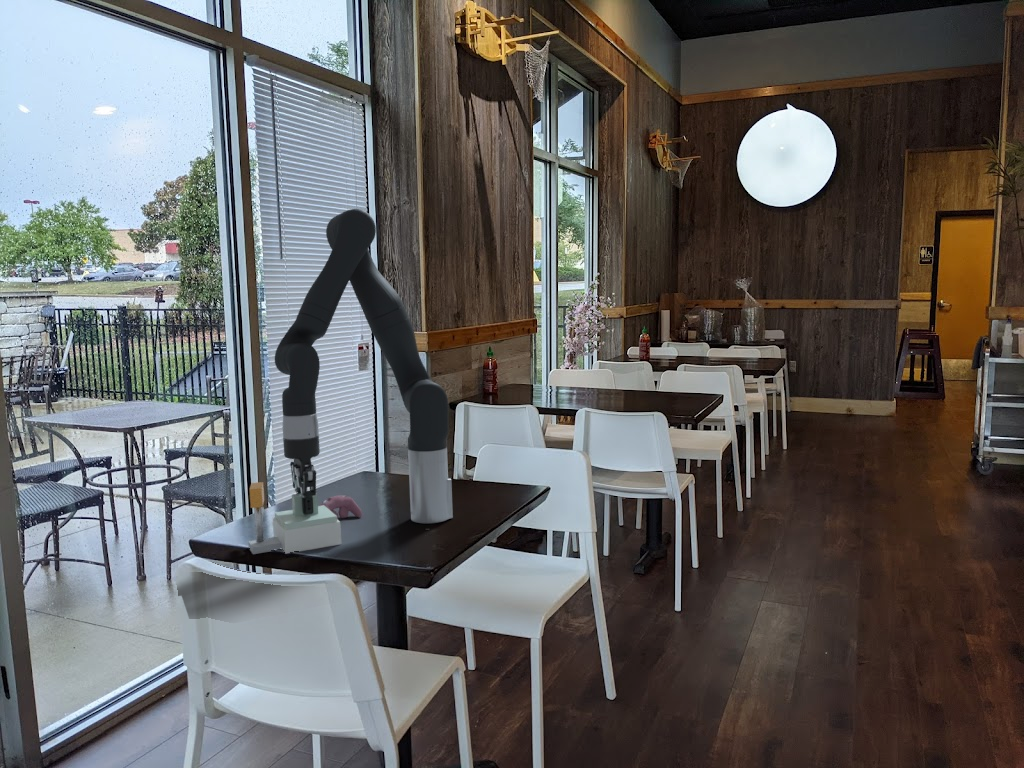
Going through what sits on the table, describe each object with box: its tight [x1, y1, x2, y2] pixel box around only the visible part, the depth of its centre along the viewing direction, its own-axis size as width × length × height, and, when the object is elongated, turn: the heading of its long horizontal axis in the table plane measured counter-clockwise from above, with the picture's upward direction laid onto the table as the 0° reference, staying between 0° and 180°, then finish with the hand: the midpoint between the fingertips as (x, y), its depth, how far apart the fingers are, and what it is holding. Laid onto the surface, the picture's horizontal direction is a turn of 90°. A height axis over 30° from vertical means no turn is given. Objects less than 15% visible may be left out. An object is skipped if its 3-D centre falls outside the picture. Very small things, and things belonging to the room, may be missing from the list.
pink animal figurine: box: [318, 494, 363, 520], centre depth 194 cm, size 10×5×7 cm, turn 142°
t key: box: [249, 481, 265, 542], centre depth 174 cm, size 9×2×12 cm, turn 14°
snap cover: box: [274, 492, 337, 530], centre depth 177 cm, size 11×11×6 cm
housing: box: [248, 516, 342, 555], centre depth 176 cm, size 18×12×5 cm, turn 118°
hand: (305, 511), depth 177 cm, fingers open, 4 cm apart
